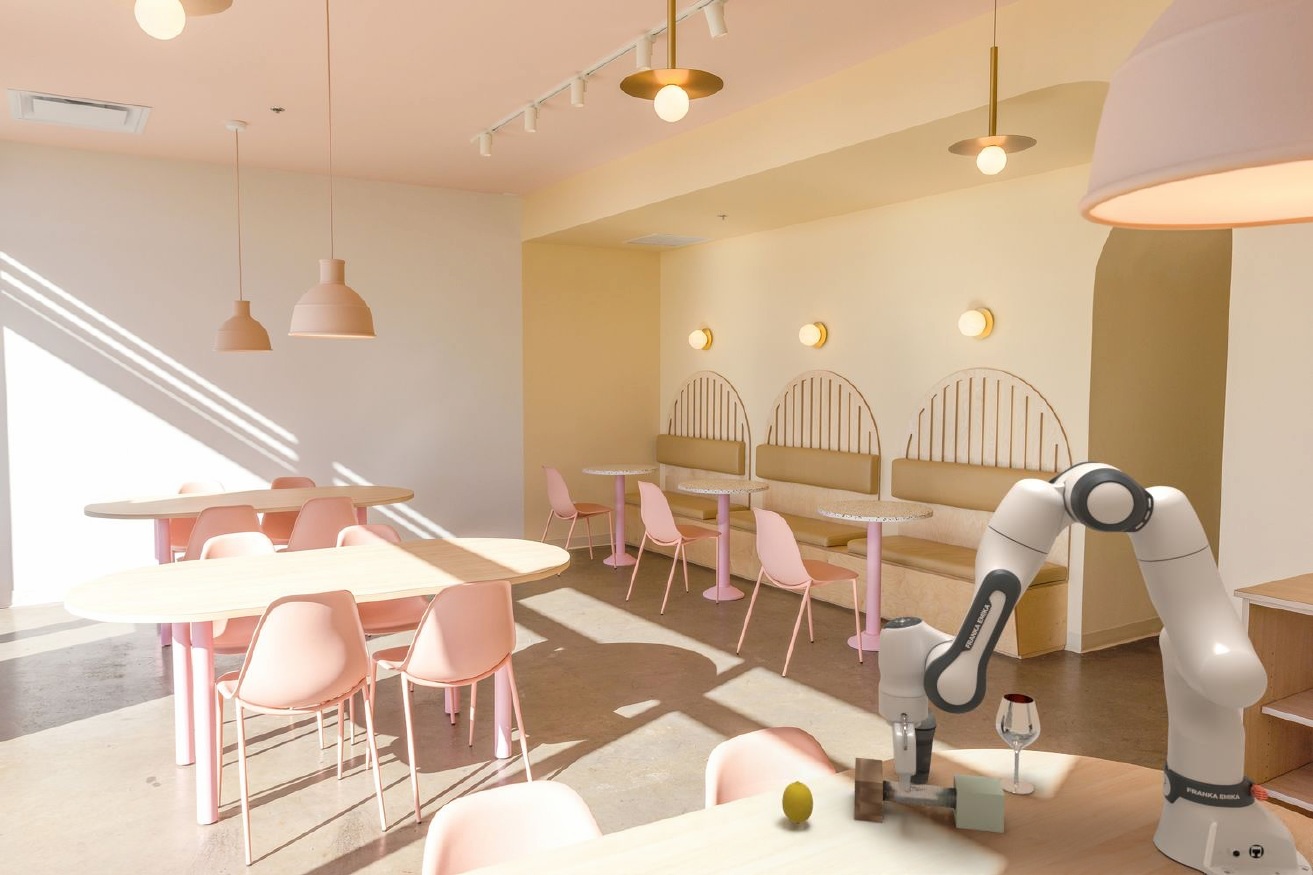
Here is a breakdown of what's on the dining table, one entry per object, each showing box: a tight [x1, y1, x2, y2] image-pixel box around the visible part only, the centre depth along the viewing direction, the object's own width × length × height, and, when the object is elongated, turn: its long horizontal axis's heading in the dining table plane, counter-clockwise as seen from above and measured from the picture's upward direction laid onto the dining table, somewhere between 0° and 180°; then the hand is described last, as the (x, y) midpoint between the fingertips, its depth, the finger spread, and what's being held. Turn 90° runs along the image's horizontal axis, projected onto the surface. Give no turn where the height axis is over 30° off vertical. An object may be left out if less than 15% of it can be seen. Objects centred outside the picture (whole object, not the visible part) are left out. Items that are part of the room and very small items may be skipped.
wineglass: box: [995, 692, 1041, 795], centre depth 174 cm, size 8×8×18 cm
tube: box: [883, 779, 957, 810], centre depth 164 cm, size 16×4×4 cm, turn 76°
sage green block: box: [952, 773, 1006, 834], centre depth 161 cm, size 8×7×7 cm
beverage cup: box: [910, 706, 937, 785], centre depth 177 cm, size 7×7×20 cm
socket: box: [853, 757, 884, 824], centre depth 165 cm, size 5×10×8 cm, turn 166°
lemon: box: [781, 780, 814, 825], centre depth 160 cm, size 6×6×8 cm
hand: (903, 777), depth 164 cm, fingers open, 8 cm apart
